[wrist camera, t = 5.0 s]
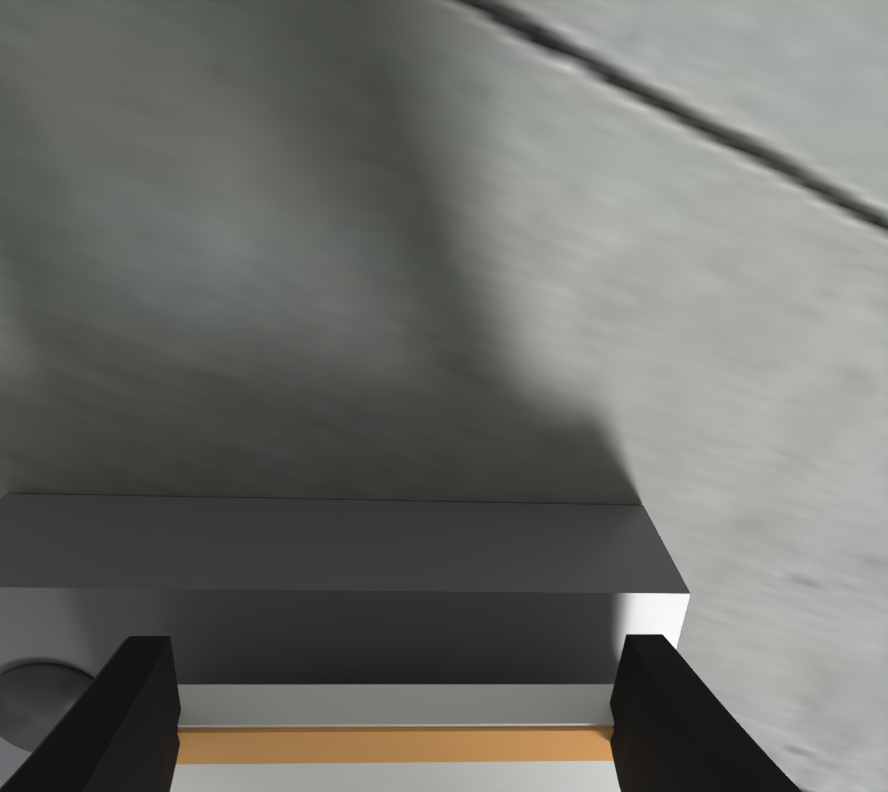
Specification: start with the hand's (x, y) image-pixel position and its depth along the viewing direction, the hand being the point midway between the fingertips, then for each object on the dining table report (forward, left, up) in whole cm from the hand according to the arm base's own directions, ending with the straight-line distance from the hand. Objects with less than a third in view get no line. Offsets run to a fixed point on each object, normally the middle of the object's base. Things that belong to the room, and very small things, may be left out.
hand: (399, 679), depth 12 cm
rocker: (-3, 0, -1) cm, 3 cm away
